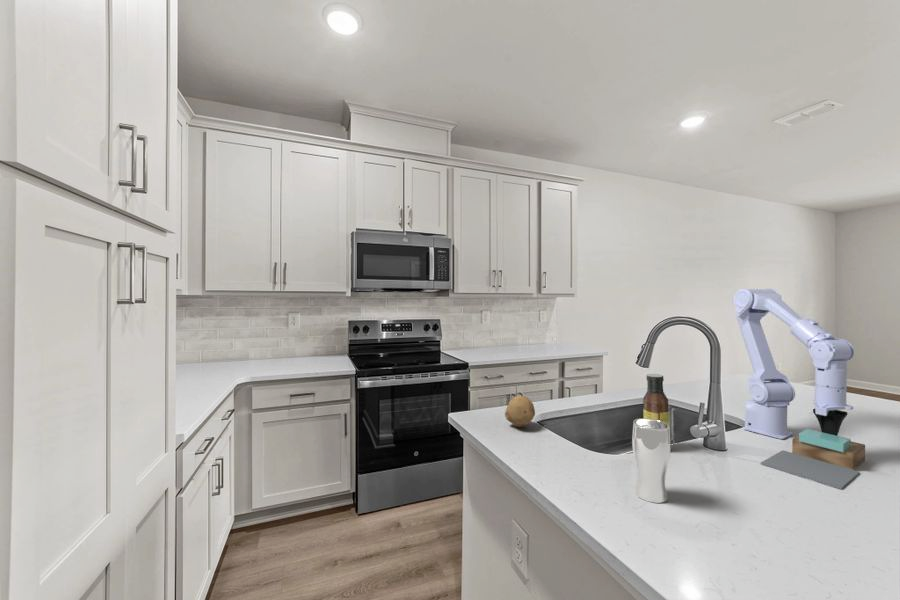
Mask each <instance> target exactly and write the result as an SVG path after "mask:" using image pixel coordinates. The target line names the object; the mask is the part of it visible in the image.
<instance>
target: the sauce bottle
mask: <svg viewBox="0 0 900 600" xmlns="http://www.w3.org/2000/svg"><path fill="white" fill-rule="evenodd" d="M646 381H647V388H646V389H647V391H646V393H645V394H644V396H643V402H642V403H643V407H642V408H643V409H642V410H643V411H642V412H643V414H642V416H643V418H646V419H654V420H659V421H662V422H664V423H666V424H668V425H669V432H670V433H671V424H670V409H669V399H668V397H667V396H666V394H665V392H664V383H663V382H664V375H662V374H657V373H649V374H646Z"/></svg>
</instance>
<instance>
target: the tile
mask: <svg viewBox="0 0 900 600" xmlns="http://www.w3.org/2000/svg"><path fill="white" fill-rule="evenodd" d="M798 435H799V441H801V442H805V443H809V444H813V445H817V446H820V447H824V448H828V449H832V450H836V451H840V452H844V451H846V450H847V449H848V448H850V446H851V438H848V437H844V436H840V435H837V436H836V435H831V434H827V433H823V432H822V431H818V430H814V429H810V428H806V429H804V430H802V431H801V432H799V433H798Z"/></svg>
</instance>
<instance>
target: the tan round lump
mask: <svg viewBox="0 0 900 600" xmlns="http://www.w3.org/2000/svg"><path fill="white" fill-rule="evenodd" d="M506 406H507V407H506V408H505V411H504V417H505V419H506V420H507V421H508V422H510V423H511V424H513V425H514V426H516V427H517V428H524V427H526V426H527V425H528V424H530V423H531V422H532V421H533V420H534V417H535V416H536V409H535V406H534V403H533V401H532V400H530V399H529V398H528V397H527V396H524V395H516V396H514V397H512V398H511V399H510V401H509V402H508V404H507V405H506Z"/></svg>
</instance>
